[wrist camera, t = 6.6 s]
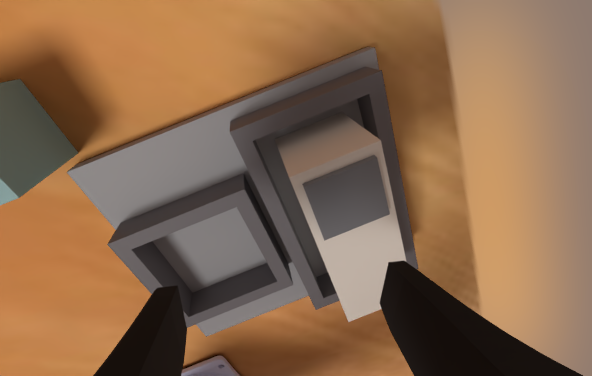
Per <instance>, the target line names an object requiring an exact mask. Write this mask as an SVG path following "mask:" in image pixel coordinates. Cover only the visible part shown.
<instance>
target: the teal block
mask: <svg viewBox="0 0 592 376" xmlns="http://www.w3.org/2000/svg"><path fill="white" fill-rule="evenodd" d="M77 154H78V152H77V150H76V149H75V148H74V147H73V145H72V144H71V143H70V142H69V140H68V139H67V138H66V136H65V135H64V134H63V133H62V131H61V130H60V129H59V128H58V126H57V125H56V124H55V123H54V121H53V120H52V119H51V117H50V116H49V115H48V114H47V112H46V111H45V110H44V109H43V107H42V106H41V105H40V104H39V102H38V101H37V100H36V98H35V97H34V96H33V95H32V93H31V92H30V91H29V90H28V88H27V87H26V86H25V85H24V83H23V82H22V81H21V79H17V80H12V81H7V82H2V83H0V205H2V204H5V203H7V202H10V201H12V200H15V199H17V198H19V197H21V196H22V195H23V194H25V193H26V192H27V191H29V190H30V189H31V188H33V187H34V186H35V185H37V184H38V183H39V182H41V181H42V180H43V179H45V178H46V177H47V176H49V175H50V174H51V173H53V172H54V171H55V170H57V169H58V168H59V167H61V166H62V165H63V164H65V163H66V162H67V161H69V160H70V159H71V158H73V157H74V156H75V155H77Z"/></svg>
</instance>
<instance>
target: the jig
mask: <svg viewBox="0 0 592 376" xmlns="http://www.w3.org/2000/svg"><path fill="white" fill-rule="evenodd" d="M340 112H342V113H344V114H345V115H347V116H348V117H349V118H351V119H352V120H353V121H355V122H356V123H358V124H359V125H360V126H362V127H363V128H364V129H366V130H367V131H369V132H370V133H371V134H373V135H374V136H376V137H377V138H378V139H380V140H381V143H382V148H383V153H384V158H385V162H386V167H387V172H388V177H389V181H390V186H391V191H392V196H393V200H394V205H395V210H396V215H397V219H398V224H399V229H400V233H401V238H402V243H403V248H404V252H405V257H406V262H407V263H408V264H410V265H411V266H413V267H414V268H415V269H418V264H417V259H416V254H415V248H414V243H413V237H412V232H411V226H410V221H409V215H408V210H407V205H406V199H405V194H404V188H403V183H402V177H401V172H400V167H399V161H398V156H397V150H396V145H395V139H394V134H393V129H392V123H391V118H390V112H389V107H388V101H387V96H386V90H385V85H384V80H383V74H382V70H379V66H378V61H377V56H376V50H375V47H366V48H363V49H361V50H358V51H356V52H353V53H351V54H348V55H346V56H343V57H341V58H338V59H336V60H333V61H331V62H328V63H326V64H324V65H321V66H319V67H316V68H314V69H311V70H309V71H306V72H304V73H301V74H299V75H296V76H294V77H291V78H289V79H286V80H284V81H281V82H279V83H277V84H274V85H272V86H269V87H267V88H264V89H262V90H259V91H257V92H254V93H252V94H249V95H247V96H244V97H242V98H239V99H237V100H235V101H232V102H230V103H227V104H225V105H222V106H220V107H217V108H215V109H212V110H210V111H207V112H205V113H202V114H200V115H197V116H195V117H192V118H190V119H188V120H185V121H183V122H180V123H178V124H175V125H173V126H170V127H168V128H165V129H163V130H160V131H158V132H155V133H153V134H150V135H148V136H145V137H143V138H141V139H138V140H136V141H133V142H131V143H128V144H126V145H123V146H121V147H118V148H116V149H113V150H111V151H108V152H106V153H103V154H101V155H98V156H96V157H94V158H91V159H89V160H86V161H84V162H81V163H79V164H76V165H75V166H74V167H72V168H71V169H70V170H69V171H68V172H67V173H68V174H69V175H70V177H71V178H72V179H73V180H74V181H75V182H76V184H77V185H78V186H79V187H80V188H81V190H82V191H83V192H84V193H85V194H86V195H87V197H88V198H89V199H90V200H91V201H92V202H93V204H94V205H95V206H96V207H97V208H98V210H99V211H100V212H101V213H102V214H103V215H104V217H105V218H106V219H107V220H108V221H109V222H110V224H111V225H112V226H113V227H114V228H115V230H116V231H115V233H114V234H113V236H112V238H111V239H110V241H109V242H108V244H107V245H108V246H109V247H110V248H111V249H112V250H113V251H114V252H115V254H116V255H117V256H118V257H119V258H120V259H121V260H122V261H123V262H124V264H125V265H126V266H127V267H128V268H129V269H130V270H131V271H132V272H133V274H134V275H135V276H136V277H137V278H138V279H139V280H140V281H141V283H142V284H143V285H144V286H145V287H146V288H147V289H148V290H149V291H150V293H151V294H153V292H154V291H155V290H156V289H157V288H159V287H168V286H177V285H178V289H179V293H180V298H181V303H182V308H183V312H184V317H185V322H186V327H187V328H188V327H190V326H193V325H195V324H196V325H197V326H198V327H199V328H200V330H201V331H202V332H203V333H204V334H205V336H206V337H207V336H209V335H212V334H214V333H217V332H219V331H222V330H224V329H226V328H229V327H231V326H234V325H236V324H239V323H241V322H244V321H246V320H249V319H251V318H254V317H256V316H259V315H261V314H264V313H266V312H269V311H271V310H274V309H276V308H279V307H281V306H284V305H286V304H289V303H291V302H294V301H296V300H299V299H301V298H304V297H306V296H309V297H310V299H311V301H312V303H313V305H314V307H315V309H316V310H317V309H319V308H322V307H324V306H327V305H329V304H332V303H334V302H337V301H339V298H338V295H337V293H336V290H335V288H334V285H333V283H332V281H331V278H330V276H329V273H328V271H327V268H326V266H325V264H324V261H323V259H322V256H321V254H320V251H319V249H318V247H317V244H316V242H315V239H314V237H313V234H312V232H311V230H310V227H309V225H308V222H307V220H306V217H305V215H304V213H303V210H302V208H301V205H300V203H299V200H298V198H297V196H296V193H295V191H294V188H293V186H292V183H291V181H290V179H289V176H288V173H287V171H286V168H285V165H284V163H283V160H282V157H281V155H280V152H279V150H278V147H277V144H276V142H275V139H276V138H279V137H281V136H284V135H286V134H289V133H291V132H294V131H296V130H298V129H301V128H303V127H306V126H308V125H311V124H313V123H316V122H318V121H321V120H323V119H326V118H328V117H331V116H333V115H336V114H338V113H340Z"/></svg>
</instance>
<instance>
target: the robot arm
mask: <svg viewBox="0 0 592 376" xmlns="http://www.w3.org/2000/svg"><path fill="white" fill-rule="evenodd" d="M380 306H381V308H382V311H383V314H384V316H385V319H386V321H387V324H388V326H389V329H390V331H391V333H392V335H393V337H394V339H395V341H396V342H397V344H398V346H399V348H400V350H401V352H402V354H403V356H404V358H405V359H406V361H407V363H408V365H409V367H410V369H411V371H412V372H413V374H414V376H583V375H581V374H579V373H577V372H575V371H573V370H571V369H569V368H567V367H565V366H564V365H562V364H560V363H558V362H556V361H554V360H552V359H551V358H549V357H547V356H545V355H543V354H541V353H540V352H538V351H536V350H535V349H533V348H531V347H529V346H528V345H526V344H524V343H523V342H521V341H519V340H518V339H516V338H514V337H512V336H511V335H509V334H508V333H506V332H505V331H503V330H501V329H500V328H498V327H497V326H495V325H494V324H492V323H490V322H489V321H488V320H486V319H485V318H483V317H482V316H480V315H479V314H477V313H476V312H474V311H473V310H471V309H470V308H468V307H467V306H466V305H464V304H463V303H461V302H460V301H459V300H457V299H456V298H454V297H453V296H452V295H450V294H449V293H448V292H446V291H445V290H444V289H442V288H441V287H439V286H438V285H437V284H435V283H434V282H433V281H431V280H430V279H429V278H427V277H426V276H425V275H423V274H422V273H421V272H419V271H418V270H417V269H415V268H414V267H413V266H411V265H410V264H408V263H407V262H406V261H395V262H388V267H387V271H386V276H385V280H384V285H383V289H382V294H381V298H380ZM186 334H187V327H186V322H185V317H184V312H183V308H182V303H181V298H180V293H179V289H178V285H177V286H168V287H159V288H157V289H156V290H155V291H154V292H153V294H152V295H151V297H150V298H149V300H148V301H147V303H146V304H145V306H144V307H143V309H142V310H141V312H140V313H139V315H138V316H137V318H136V319H135V320H134V322H133V323H132V325H131V326H130V328H129V329H128V330H127V332H126V333H125V335H124V336H123V337H122V339H121V340H120V341H119V343H118V344H117V346H116V347H115V348H114V350H113V351H112V352H111V354H110V355H109V356H108V358H107V359H106V360H105V362H104V363H103V364H102V365H101V367H100V368H99V369H98V370H97V372H96V373H95V374H94V375H93V376H240V375H239V374H238V373H237V372H236V371H235V370H234V368H233V367H232V366H231V365H230V364H229V362H228V361H227V360H226V359H225V358H224V357H223V356H215V357H213V358H210V359H208V360H205V361H203V362H200V363H198V364H195V365H193V366H190V367H188V368H185V369H183V370H182V368H183V363H184V355H185V345H186Z"/></svg>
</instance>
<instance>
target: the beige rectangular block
mask: <svg viewBox="0 0 592 376" xmlns="http://www.w3.org/2000/svg"><path fill="white" fill-rule="evenodd" d="M275 142H276V144H277V147H278V150H279V152H280V155H281V157H282V160H283V163H284V165H285V168H286V171H287V173H288V176H289V179H290V181H291V183H292V186H293V188H294V191H295V193H296V196H297V198H298V200H299V203H300V205H301V208H302V210H303V213H304V215H305V217H306V220H307V222H308V225H309V227H310V230H311V232H312V234H313V237H314V239H315V242H316V244H317V247H318V249H319V251H320V254H321V256H322V259H323V261H324V264H325V266H326V268H327V271H328V273H329V276H330V278H331V281H332V283H333V285H334V288H335V290H336V293H337V295H338V298H339V300H340V302H341V305H342V307H343V310H344V312H345V315H346V317H347V319H348V322H350V321H353V320H355V319H358V318H360V317H363V316H365V315H368V314H370V313H373V312H375V311H378V310H380V309H382V308H381V306H380V298H381V294H382V289H383V285H384V280H385V276H386V271H387V267H388V262H395V261H406V257H405V252H404V248H403V243H402V238H401V233H400V229H399V224H398V219H397V215H396V210H395V205H394V200H393V196H392V191H391V186H390V181H389V177H388V172H387V167H386V162H385V158H384V153H383V148H382V143H381V140H380V139H378V138H377V137H376V136H374V135H373V134H371V133H370V132H369V131H367V130H366V129H364V128H363V127H362V126H360V125H359V124H358V123H356V122H355V121H353V120H352V119H351V118H349V117H348V116H347V115H345V114H344V113H342V112H340V113H338V114H336V115H333V116H331V117H328V118H326V119H323V120H321V121H318V122H316V123H313V124H311V125H308V126H306V127H303V128H301V129H298V130H296V131H294V132H291V133H289V134H286V135H284V136H281V137H279V138H276V139H275Z"/></svg>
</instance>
